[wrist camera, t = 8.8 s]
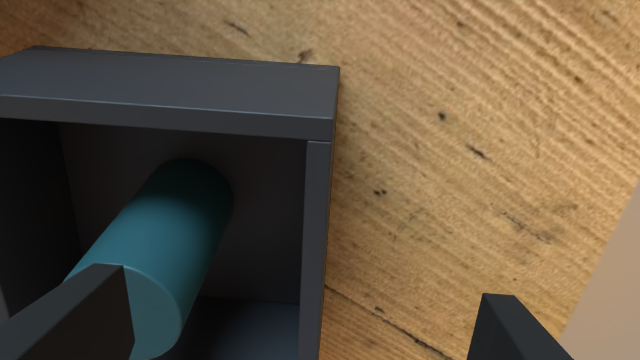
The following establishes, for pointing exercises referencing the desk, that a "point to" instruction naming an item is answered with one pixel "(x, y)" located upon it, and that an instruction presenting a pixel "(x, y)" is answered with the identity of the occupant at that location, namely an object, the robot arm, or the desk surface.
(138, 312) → the teal cylinder
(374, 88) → the desk surface
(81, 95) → the bin
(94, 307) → the robot arm
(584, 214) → the desk surface
